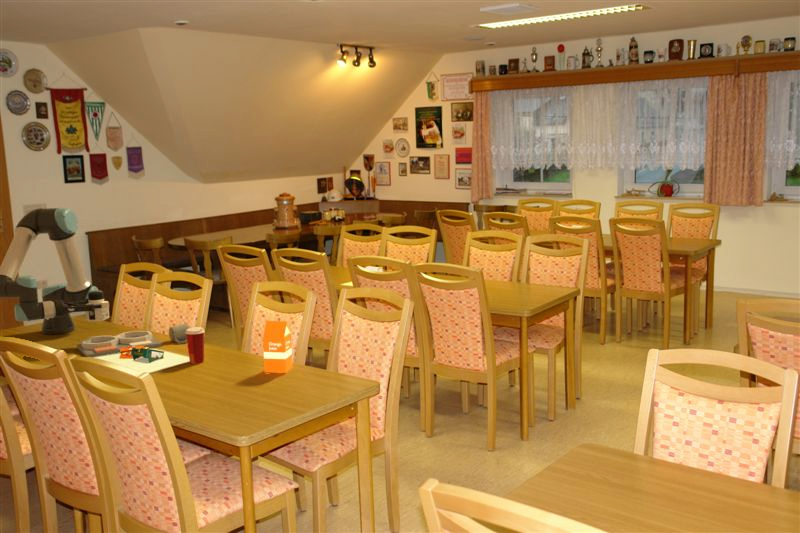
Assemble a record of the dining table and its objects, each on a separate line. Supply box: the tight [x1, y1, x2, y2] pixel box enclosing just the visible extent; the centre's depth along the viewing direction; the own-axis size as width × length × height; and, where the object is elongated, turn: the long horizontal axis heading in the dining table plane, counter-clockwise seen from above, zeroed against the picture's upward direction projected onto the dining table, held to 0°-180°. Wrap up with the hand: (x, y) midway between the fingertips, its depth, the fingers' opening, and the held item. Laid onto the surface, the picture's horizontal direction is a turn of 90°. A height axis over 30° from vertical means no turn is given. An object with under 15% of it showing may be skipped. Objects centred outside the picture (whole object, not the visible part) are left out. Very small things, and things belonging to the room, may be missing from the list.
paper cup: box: [185, 326, 206, 365], centre depth 317 cm, size 8×8×14 cm
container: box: [84, 290, 110, 322], centre depth 349 cm, size 8×8×13 cm
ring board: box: [76, 330, 163, 358], centre depth 347 cm, size 22×32×4 cm
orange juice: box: [262, 320, 293, 373], centre depth 301 cm, size 8×9×20 cm
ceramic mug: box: [168, 323, 190, 345], centre depth 354 cm, size 11×8×8 cm
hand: (106, 303), depth 351 cm, fingers closed on container, 10 cm apart
